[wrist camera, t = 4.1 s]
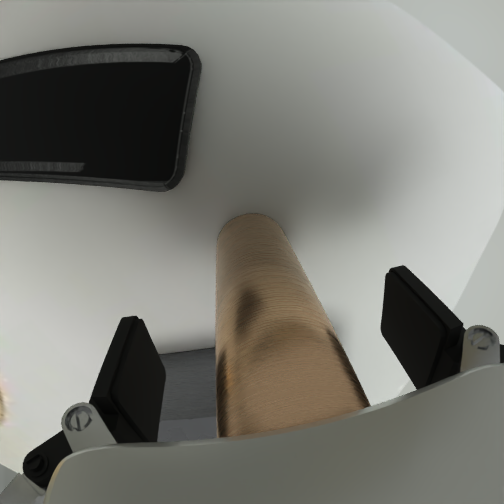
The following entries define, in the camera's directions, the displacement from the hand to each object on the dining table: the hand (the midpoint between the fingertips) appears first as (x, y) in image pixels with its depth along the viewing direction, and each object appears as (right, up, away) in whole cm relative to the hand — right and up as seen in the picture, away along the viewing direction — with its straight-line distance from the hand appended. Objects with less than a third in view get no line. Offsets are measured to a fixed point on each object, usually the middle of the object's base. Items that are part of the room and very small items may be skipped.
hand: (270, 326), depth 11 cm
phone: (-11, +11, +3) cm, 16 cm away
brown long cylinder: (-1, +3, +7) cm, 7 cm away
